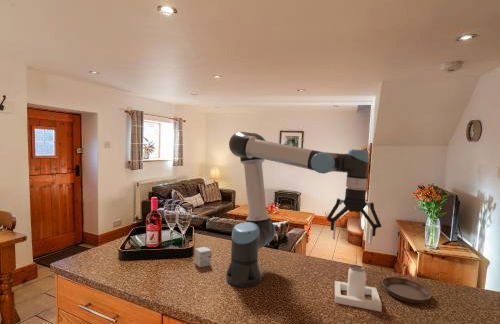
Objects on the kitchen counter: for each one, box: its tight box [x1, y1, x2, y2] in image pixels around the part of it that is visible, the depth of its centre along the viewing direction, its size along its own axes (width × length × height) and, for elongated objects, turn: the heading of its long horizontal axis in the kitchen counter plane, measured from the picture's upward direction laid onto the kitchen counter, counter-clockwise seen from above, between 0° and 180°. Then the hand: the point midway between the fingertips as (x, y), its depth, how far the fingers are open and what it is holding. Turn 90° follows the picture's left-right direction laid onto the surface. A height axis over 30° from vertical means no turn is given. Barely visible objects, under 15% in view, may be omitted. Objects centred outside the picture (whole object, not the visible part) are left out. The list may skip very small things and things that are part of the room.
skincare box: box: [194, 246, 212, 268], centre depth 131 cm, size 6×6×7 cm
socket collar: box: [334, 280, 383, 313], centre depth 106 cm, size 16×13×2 cm
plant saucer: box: [381, 276, 432, 304], centre depth 112 cm, size 18×18×3 cm
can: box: [346, 264, 367, 299], centre depth 106 cm, size 6×6×12 cm
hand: (351, 241), depth 109 cm, fingers open, 13 cm apart
